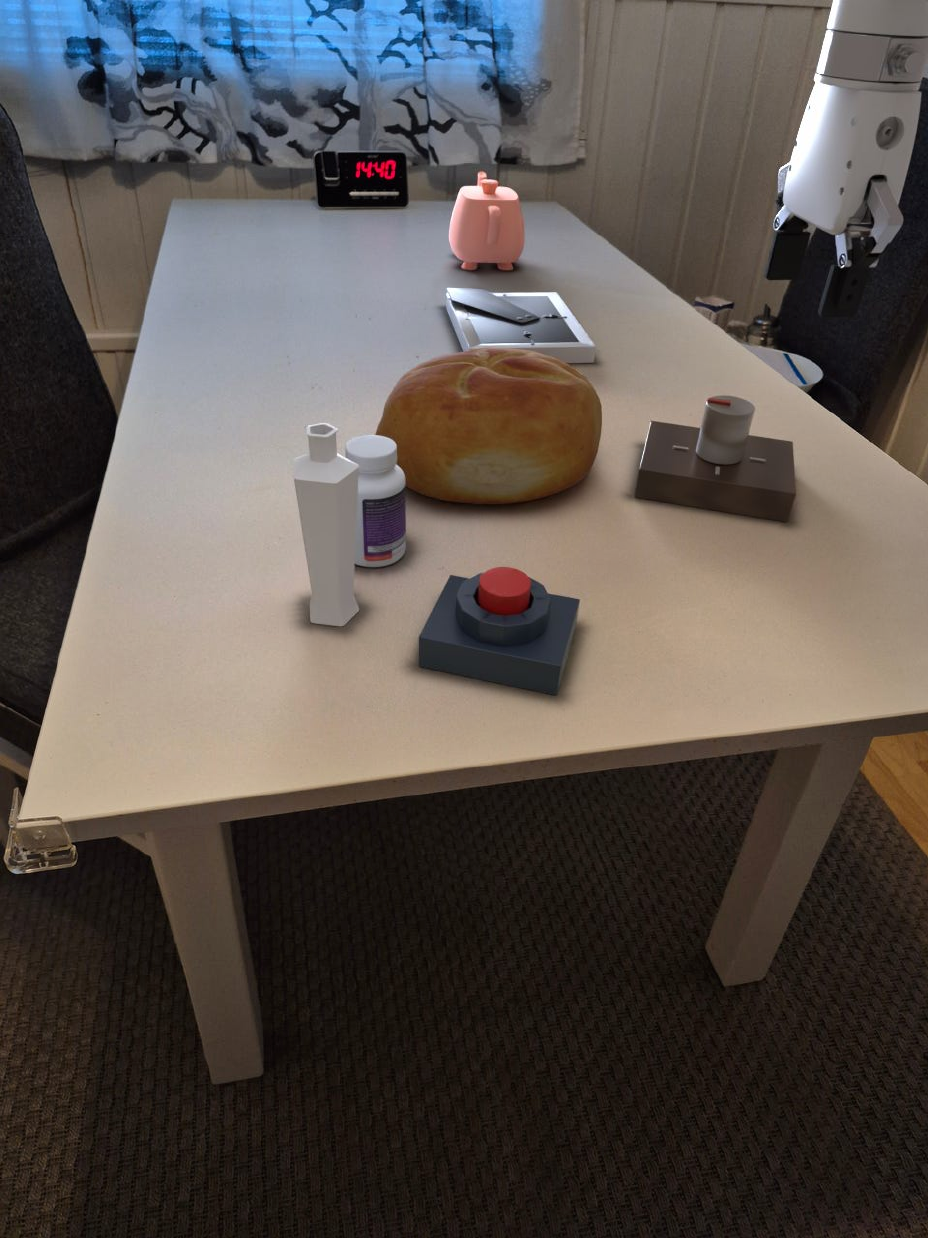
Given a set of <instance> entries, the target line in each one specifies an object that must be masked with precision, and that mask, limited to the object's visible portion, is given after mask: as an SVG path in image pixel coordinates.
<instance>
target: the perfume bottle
mask: <svg viewBox="0 0 928 1238" xmlns="http://www.w3.org/2000/svg"><path fill="white" fill-rule="evenodd" d="M338 431H339V429H338V428H337V427H336V426H334V425H332V424H331V423H328V422H320V423H315V424H309V425H306V426H305V434H306V436H307V437H308V450H309V451H308V452H309V453H306V454H303V455H301V456H298V457H295V458H293V460H292V467H293V469H292V470H293V472H292V473H293V483H294V488H295V489H294V490H295V495H296V500H297V502H296V503H297V508H298V515H299V521H300V528H301V533H302V539H303V546H304V553H305V558H306V564H307V571H308V578H309V584H310V591H311V595H310V602H309V620H310V621H309V622H310V623H312V624H318V625H325V626H334V627H344V626H345V625H347V623H348V622H349V621H350V620H351V619H353V617H355V616H356V615H357V613H359V611H360V608H359V605H358V602H357V600H356V597H355V594H354V589H355V588H354V587H355V567H356V564H355V544H356V521H357V498H358V475H359V465H358V464H356V463H354V462H352V461H350V460H349V459H347V458H346V456H343V455H342V454H339V453H338V447H337V446H338V445H337V444H338V443H337V433H338Z"/></svg>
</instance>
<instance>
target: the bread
mask: <svg viewBox="0 0 928 1238" xmlns="http://www.w3.org/2000/svg"><path fill="white" fill-rule="evenodd" d="M602 407H603V406H602V402H601V398H600V397H599V395H598V392H597V391H596V389H595V387H594V386H593V384H592V383H591V382H590V381H589V380H588V378H587V377H586V376H585V375H584V374H583V373H581V371H579V370H578V369H576V368H574V367H573V366H572V365H570V364H569V363H565V362H564V361H561V360H559V359H557V358H554V357H551V356H547V355H544V354H540V353H538V352H535V351H529V350H521V349H512V348H490V347H486V348H479V349H473V350H469V351H464V352H463V351H460V352H453V353H452V352H451V353H447V354H443V355H439V356H436V357H434V358H431V359H429V360H426V361H424V362H421V363H419V364H417V365H416V366H414V367H413V368H411V369H410V370H409V371H407V372H406V373H405V374H403V375H402V376H401V377H400V379H399V380H398V381H397V382H396V384H395V386H393V388H392V391H390V393H389V394H388V396H387V399H386V401H385V403H384V407H383V411H382V416H381V418H380V420H379V422H378V424H377V428H376V431H375V434H374V435H379V436H384V437H387V438H390V439H392V440H393V441H394V442H395V443H396V445H397V463H396V465H398V466H399V467H400V468H401V469H402V471H403V472H404V475H405V482H406V488H409V489H410V490H413V491H415V492H417V493H419V494H421V495H423V496H426V497H428V498H432V499H435V500H436V499H437V500H441V501H445V502H453V503H462V504H472V505H473V504H474V505H505V504H506V505H507V504H515V503H516V504H517V503H524V502H530V501H535V500H539V499H542V498H546V497H549V496H552V495H555V494H558V493H560V492H562V491H565V490H566V489H568V488H571V487H572V486H574V485H576V484H577V483H579V482H580V481H581V480H583V478H585V477H586V476H587V474H588V473H589V472H590V471H591V469H592V467H593V465H594V464H595V462H596V460H597V459H596V458H597V455H598V451H599V447H600V443H601V436H602V429H603V411H602V410H603V409H602Z"/></svg>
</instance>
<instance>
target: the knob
mask: <svg viewBox="0 0 928 1238" xmlns="http://www.w3.org/2000/svg"><path fill="white" fill-rule="evenodd" d="M755 411H756V407H755V405H754V404H753V403H752V402H750V401H749V400H747V399H744V398H742V397H738V396H733V395H715V396H714V395H713V396H710V397H707V398H706V402H705V407H704V411H703V415H702V419H701V424H700V427H699V428H700V433H699V437H698V442H697V446H696V453H697V455H698V456H699V457H701V458H702V459H704V460H706V461H708V462H711V463H716V464H723V465H729V464H735V463H738V462H740V461H741V460H742V458H743V454H744V450H745V446H746V442H747V439H748V435H750V430H751V427H752V422H753V418H754V415H755Z"/></svg>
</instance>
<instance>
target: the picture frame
mask: <svg viewBox="0 0 928 1238" xmlns="http://www.w3.org/2000/svg"><path fill="white" fill-rule="evenodd" d="M446 291H447V293H446V295H445V297H446V299H445V309H446V312H447V314H448V316H449V319H450V321H451V325H452V327H453V329H454V331H455V334H456V336H457V339H458V341H459V344H460V347H461V349H462V352H464V351H469V350H473V349H479V348H486V347H490V348H512V349H521V350H529V351H535V352H538V353H540V354H544V355H547V356H551V357H554V358H557V359H559V360H561V361H564V362H565V363H567V364H594V363H595V357H596V349H597V346H596V345H595V343H594V342H593V341H592V339H591V338H590V336H589V335H588V333H587V332H586V331H585V329H584V328H583V327H582V325H581V324H580V322H579V321H578V319H576V317H575V315H574V314H573V313H572V311H571V310H570V309H569V307H568V306H567V305H566V303H565V302H564V301H563V299H562V298H561V296H560V295H559V294H558V292H489V291H487V290H486V289H483V288H464V287H463V288H462V287H460V288H459V287H446Z"/></svg>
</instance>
